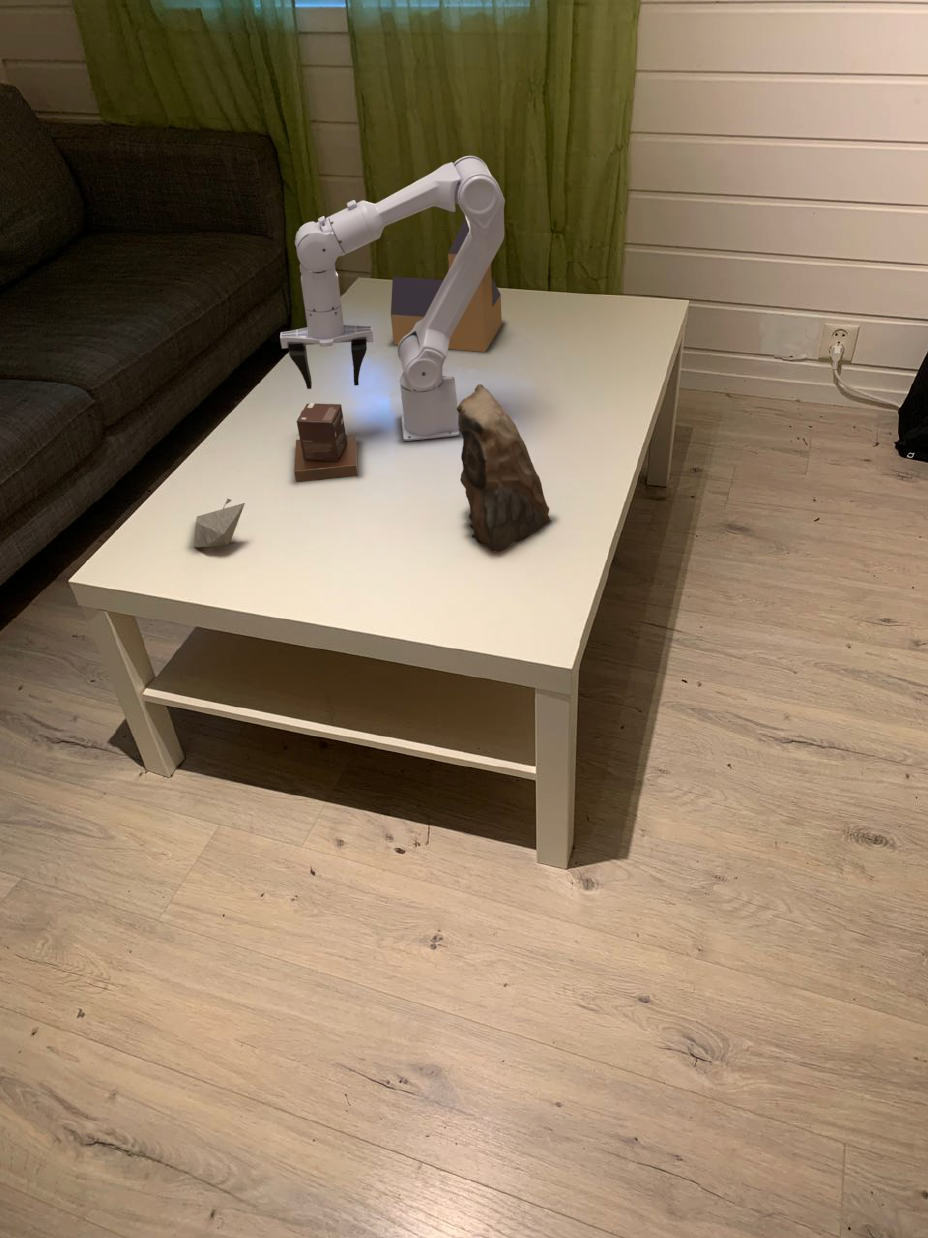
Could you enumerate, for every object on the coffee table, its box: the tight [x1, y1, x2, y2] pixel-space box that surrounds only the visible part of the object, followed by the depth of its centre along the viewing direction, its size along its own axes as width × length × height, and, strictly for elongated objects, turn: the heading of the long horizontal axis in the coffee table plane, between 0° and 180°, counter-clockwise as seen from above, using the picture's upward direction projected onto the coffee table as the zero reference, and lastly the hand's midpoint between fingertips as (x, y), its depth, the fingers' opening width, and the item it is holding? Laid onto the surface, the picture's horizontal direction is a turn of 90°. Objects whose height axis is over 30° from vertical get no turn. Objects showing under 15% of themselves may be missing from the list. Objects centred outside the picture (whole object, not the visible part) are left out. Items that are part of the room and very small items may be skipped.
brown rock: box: [457, 383, 551, 553], centre depth 144 cm, size 13×13×20 cm
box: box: [296, 402, 347, 461], centre depth 163 cm, size 6×6×7 cm
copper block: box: [293, 433, 359, 483], centre depth 166 cm, size 10×10×2 cm
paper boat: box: [193, 498, 246, 548], centre depth 150 cm, size 12×6×9 cm
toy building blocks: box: [390, 217, 503, 353], centre depth 192 cm, size 12×19×25 cm, turn 74°
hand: (332, 384), depth 165 cm, fingers open, 7 cm apart
